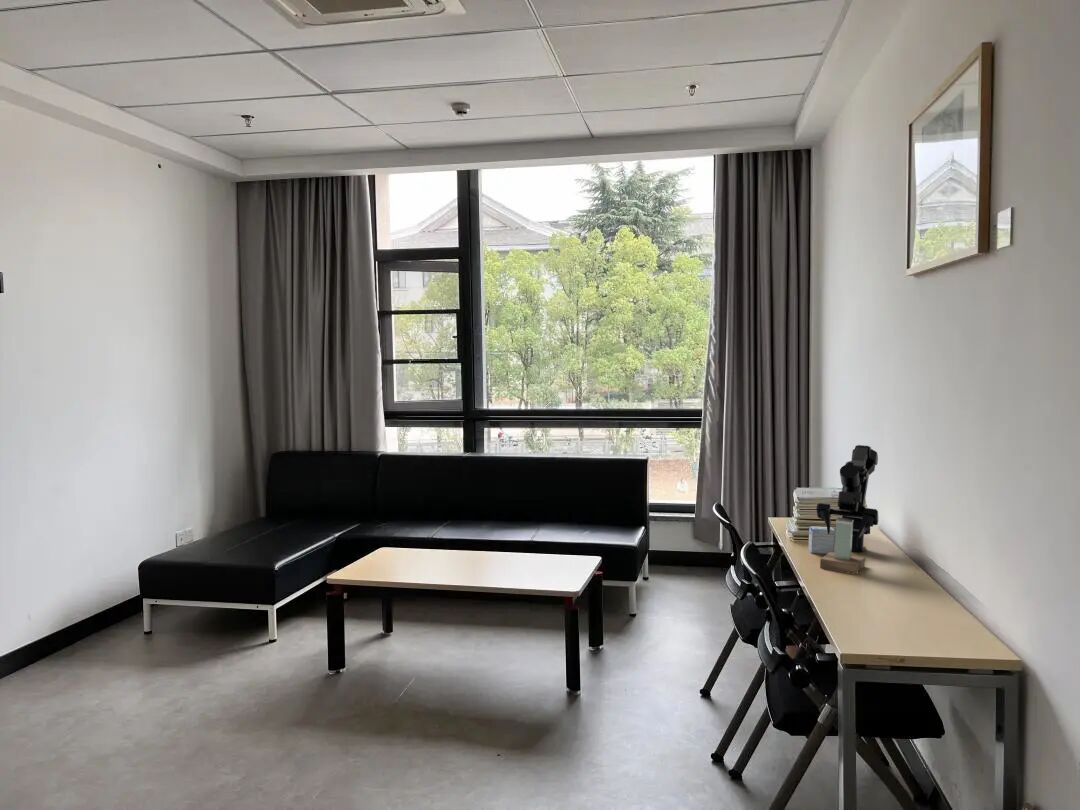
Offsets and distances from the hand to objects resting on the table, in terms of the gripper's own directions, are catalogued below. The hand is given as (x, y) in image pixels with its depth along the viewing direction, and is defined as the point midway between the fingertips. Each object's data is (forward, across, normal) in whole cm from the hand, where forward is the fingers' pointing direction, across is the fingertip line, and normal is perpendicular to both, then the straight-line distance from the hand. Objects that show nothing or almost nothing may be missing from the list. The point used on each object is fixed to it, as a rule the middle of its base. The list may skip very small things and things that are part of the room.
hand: (843, 535), depth 249 cm
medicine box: (-4, -9, +20) cm, 22 cm away
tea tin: (+5, 0, +6) cm, 8 cm away
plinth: (+7, 0, +9) cm, 11 cm away
